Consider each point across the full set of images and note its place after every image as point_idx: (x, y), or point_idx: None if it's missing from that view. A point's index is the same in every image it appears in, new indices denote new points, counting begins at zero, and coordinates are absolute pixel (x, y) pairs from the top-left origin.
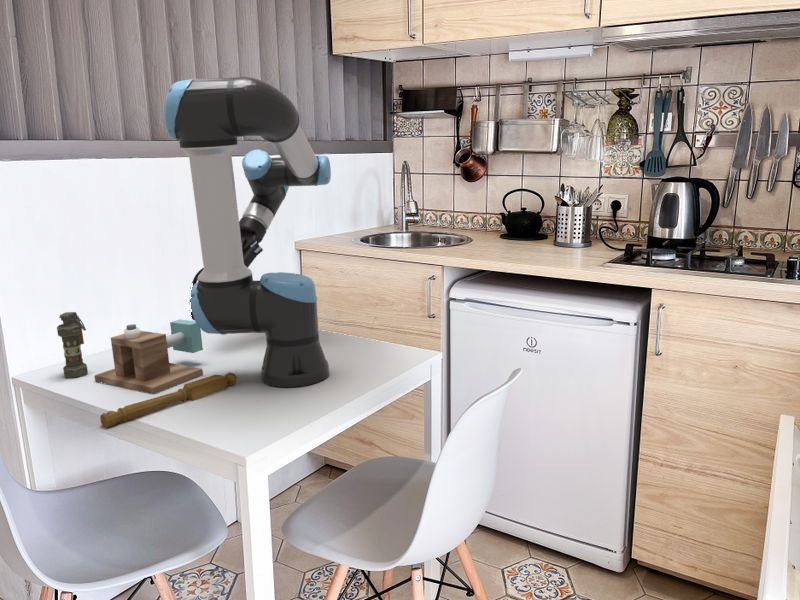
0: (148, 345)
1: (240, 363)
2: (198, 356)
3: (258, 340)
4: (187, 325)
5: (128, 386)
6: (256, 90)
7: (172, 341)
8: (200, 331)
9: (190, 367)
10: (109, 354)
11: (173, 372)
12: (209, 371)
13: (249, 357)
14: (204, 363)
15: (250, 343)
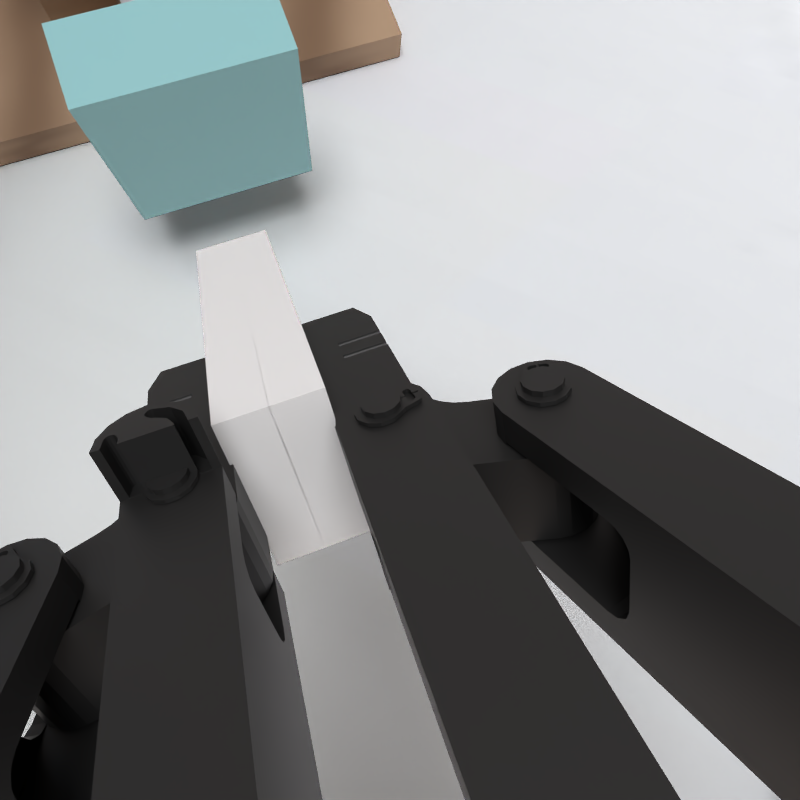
0: None
1: (3, 393)
2: (326, 290)
3: (371, 712)
4: (76, 21)
5: None
6: None
7: None
8: (98, 152)
9: (44, 120)
10: (709, 7)
11: (36, 32)
12: (15, 216)
13: (67, 485)
14: (172, 258)
15: (345, 636)
